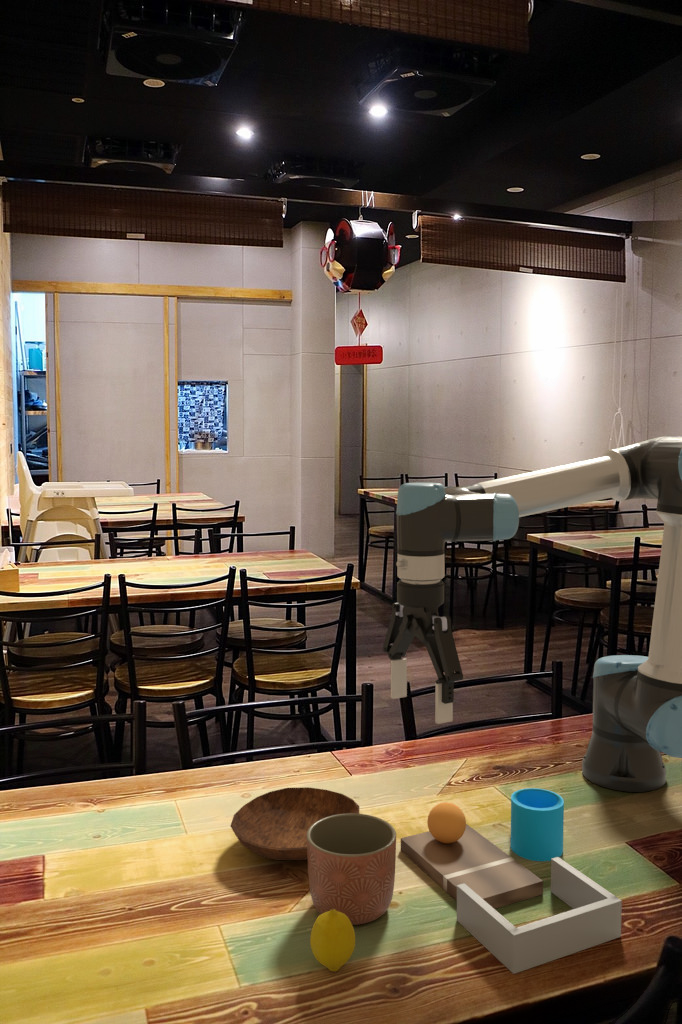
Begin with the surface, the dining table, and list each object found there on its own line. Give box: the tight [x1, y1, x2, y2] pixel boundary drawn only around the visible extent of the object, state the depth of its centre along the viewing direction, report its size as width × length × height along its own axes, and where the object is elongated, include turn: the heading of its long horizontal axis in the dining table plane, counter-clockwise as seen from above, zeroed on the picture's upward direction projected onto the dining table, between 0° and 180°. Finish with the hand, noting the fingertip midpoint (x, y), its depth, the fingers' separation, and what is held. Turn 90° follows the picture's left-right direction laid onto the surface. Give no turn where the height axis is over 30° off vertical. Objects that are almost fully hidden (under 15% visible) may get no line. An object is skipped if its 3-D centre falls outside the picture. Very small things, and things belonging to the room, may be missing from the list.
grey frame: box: [456, 857, 623, 975], centre depth 113 cm, size 17×13×5 cm
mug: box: [510, 787, 565, 862], centre depth 136 cm, size 12×8×8 cm
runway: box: [400, 823, 544, 910], centre depth 128 cm, size 12×20×2 cm, turn 25°
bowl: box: [230, 786, 360, 861], centre depth 136 cm, size 20×22×5 cm
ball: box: [427, 801, 467, 843], centre depth 133 cm, size 6×6×6 cm
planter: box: [307, 813, 397, 926], centre depth 118 cm, size 12×12×11 cm
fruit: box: [309, 908, 356, 972], centre depth 105 cm, size 6×6×8 cm
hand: (420, 709), depth 138 cm, fingers open, 13 cm apart
